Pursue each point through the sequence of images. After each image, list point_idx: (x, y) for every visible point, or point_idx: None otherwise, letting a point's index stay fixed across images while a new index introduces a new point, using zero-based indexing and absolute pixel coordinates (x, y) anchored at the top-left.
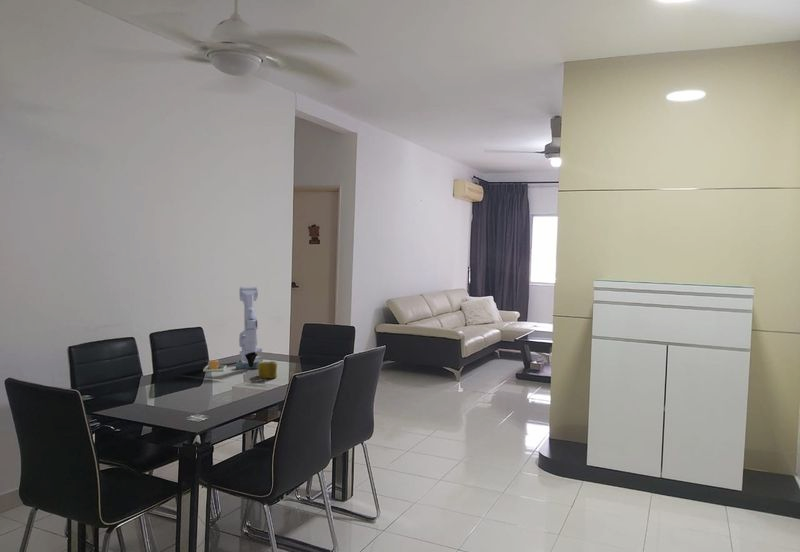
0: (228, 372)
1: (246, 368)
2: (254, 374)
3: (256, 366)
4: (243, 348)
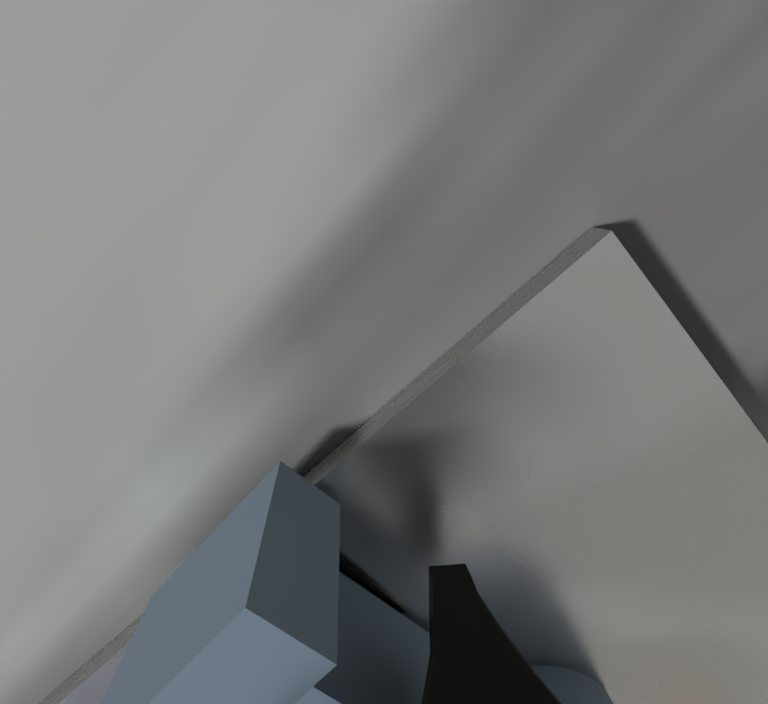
0: None
1: None
2: (691, 174)
3: (331, 535)
4: None
